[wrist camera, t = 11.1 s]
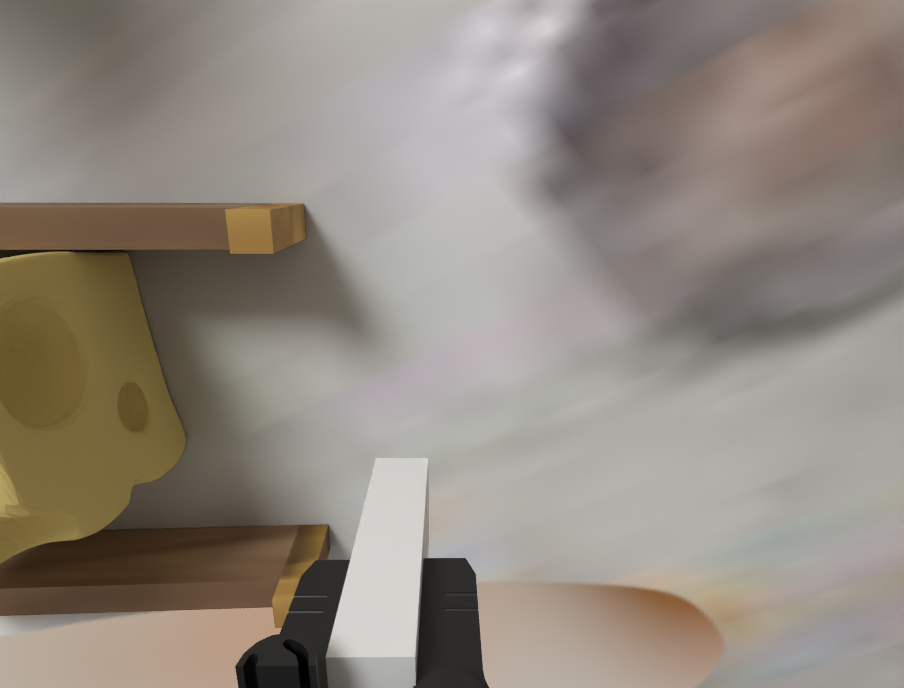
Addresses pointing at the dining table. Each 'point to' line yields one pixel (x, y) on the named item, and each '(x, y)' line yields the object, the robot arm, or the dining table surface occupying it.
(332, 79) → the dining table surface
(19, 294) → the cheese
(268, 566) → the bay
